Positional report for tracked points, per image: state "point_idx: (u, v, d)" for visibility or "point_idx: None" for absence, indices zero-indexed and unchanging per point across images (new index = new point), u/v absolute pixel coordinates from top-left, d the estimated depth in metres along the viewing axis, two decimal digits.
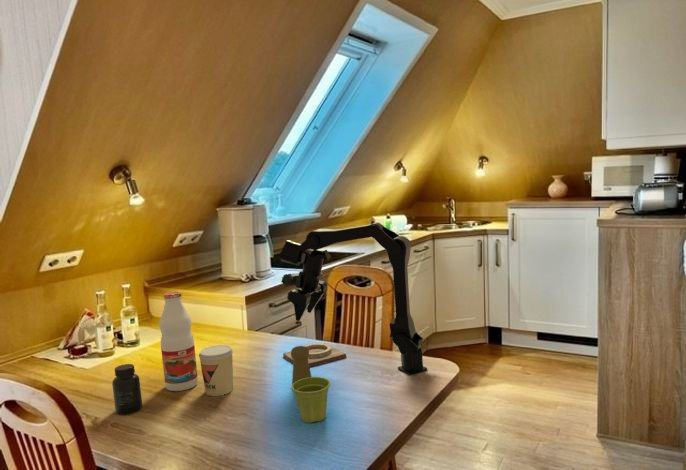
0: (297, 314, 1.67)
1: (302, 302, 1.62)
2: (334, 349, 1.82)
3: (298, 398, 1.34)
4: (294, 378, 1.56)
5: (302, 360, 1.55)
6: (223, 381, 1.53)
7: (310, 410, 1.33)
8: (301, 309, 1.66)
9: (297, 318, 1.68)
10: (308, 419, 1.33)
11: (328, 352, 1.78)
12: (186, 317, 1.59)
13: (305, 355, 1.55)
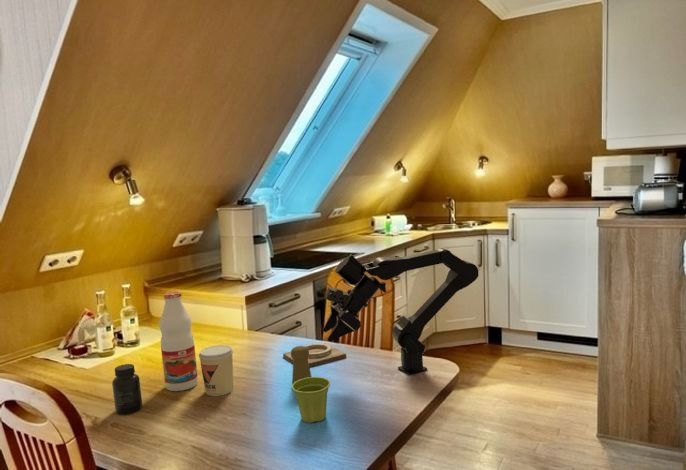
0: (333, 335, 1.52)
1: (355, 328, 1.49)
2: (334, 349, 1.82)
3: (298, 398, 1.34)
4: (294, 378, 1.56)
5: (302, 360, 1.55)
6: (223, 381, 1.53)
7: (310, 410, 1.33)
8: (342, 332, 1.52)
9: (330, 339, 1.53)
10: (308, 419, 1.33)
11: (328, 352, 1.78)
12: (186, 317, 1.59)
13: (305, 355, 1.55)
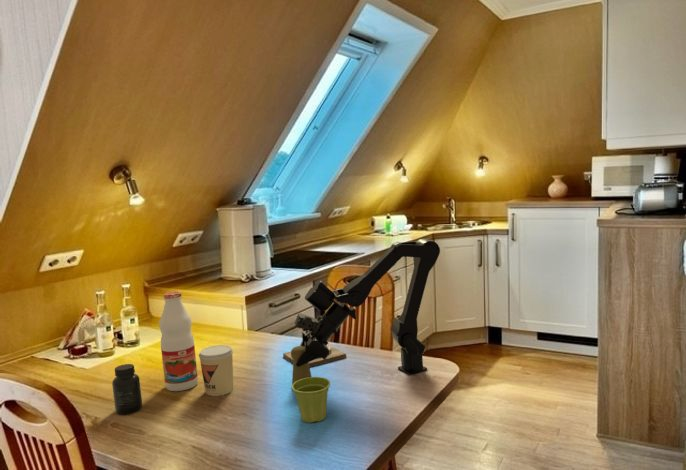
0: (301, 360, 1.54)
1: (323, 356, 1.48)
2: (334, 349, 1.82)
3: (298, 398, 1.34)
4: (294, 377, 1.56)
5: None
6: (223, 381, 1.53)
7: (310, 410, 1.33)
8: (310, 357, 1.53)
9: (298, 364, 1.54)
10: (308, 419, 1.33)
11: None
12: (186, 317, 1.59)
13: None
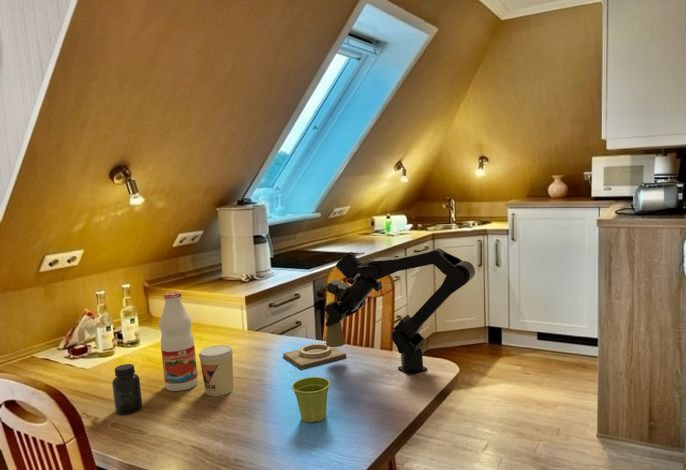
0: (329, 321, 1.70)
1: (336, 320, 1.62)
2: (334, 349, 1.82)
3: (298, 398, 1.34)
4: None
5: None
6: (223, 381, 1.53)
7: (310, 410, 1.33)
8: None
9: (327, 324, 1.71)
10: (308, 419, 1.33)
11: (328, 352, 1.78)
12: (186, 317, 1.59)
13: None
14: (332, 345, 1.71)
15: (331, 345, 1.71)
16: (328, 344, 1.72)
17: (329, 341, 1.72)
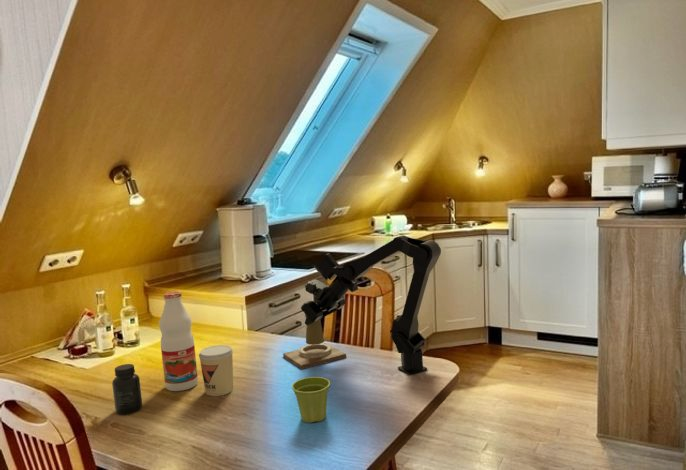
0: (307, 320, 1.76)
1: (311, 319, 1.68)
2: (334, 349, 1.82)
3: (298, 398, 1.34)
4: (306, 334, 1.80)
5: None
6: (223, 381, 1.53)
7: (310, 410, 1.33)
8: None
9: (306, 322, 1.78)
10: (308, 419, 1.33)
11: (328, 352, 1.78)
12: (186, 317, 1.59)
13: None
14: (311, 343, 1.78)
15: (310, 342, 1.78)
16: (307, 341, 1.79)
17: (308, 339, 1.78)
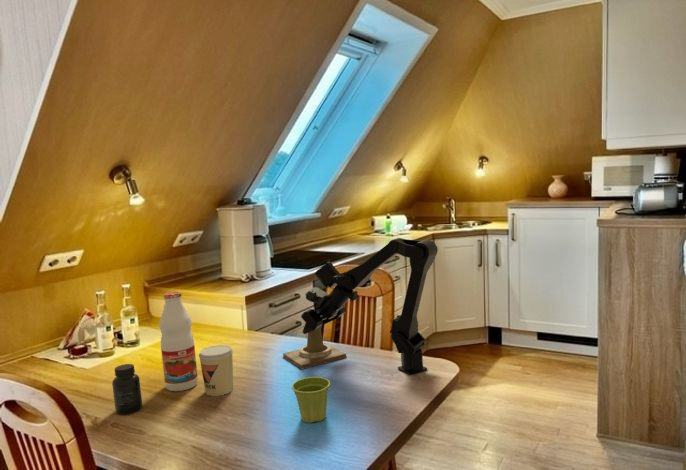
0: (305, 329, 1.76)
1: (311, 327, 1.69)
2: (334, 349, 1.82)
3: (298, 398, 1.34)
4: (307, 344, 1.80)
5: (312, 331, 1.78)
6: (223, 381, 1.53)
7: (310, 410, 1.33)
8: (310, 328, 1.74)
9: (304, 331, 1.77)
10: (308, 419, 1.33)
11: (328, 352, 1.78)
12: (186, 317, 1.59)
13: None
14: None
15: None
16: None
17: (309, 349, 1.79)
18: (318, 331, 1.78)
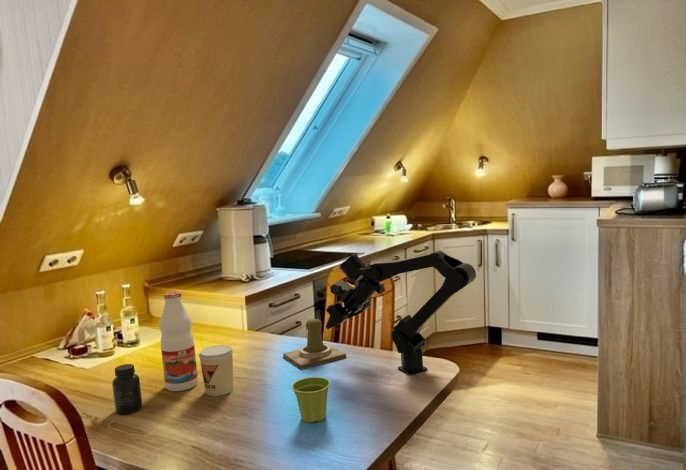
0: (329, 324, 1.70)
1: (337, 321, 1.64)
2: (334, 349, 1.82)
3: (298, 398, 1.34)
4: (307, 344, 1.80)
5: (312, 331, 1.78)
6: (223, 381, 1.53)
7: (310, 410, 1.33)
8: (334, 322, 1.68)
9: (327, 326, 1.71)
10: (308, 419, 1.33)
11: (328, 352, 1.78)
12: (186, 317, 1.59)
13: (313, 327, 1.77)
14: None
15: None
16: None
17: (309, 349, 1.79)
18: (318, 331, 1.78)
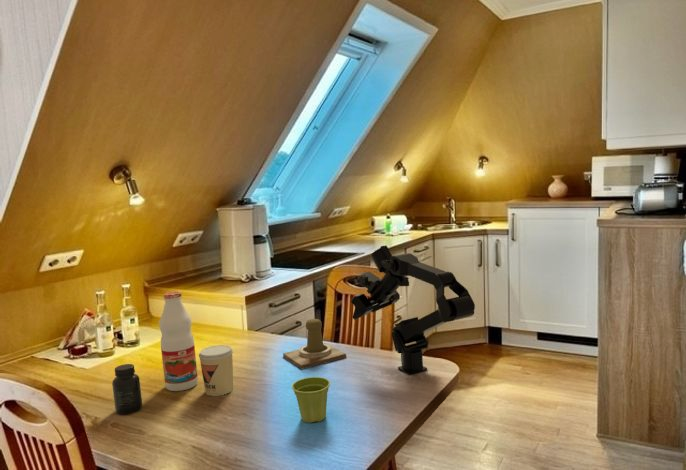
0: (355, 314, 1.71)
1: (361, 312, 1.64)
2: (334, 349, 1.82)
3: (298, 398, 1.34)
4: (307, 344, 1.80)
5: (312, 331, 1.78)
6: (222, 381, 1.53)
7: (310, 410, 1.33)
8: (359, 313, 1.69)
9: (354, 317, 1.72)
10: (308, 419, 1.33)
11: (328, 352, 1.78)
12: (186, 317, 1.59)
13: (313, 327, 1.77)
14: None
15: None
16: None
17: (309, 349, 1.79)
18: (318, 331, 1.78)
